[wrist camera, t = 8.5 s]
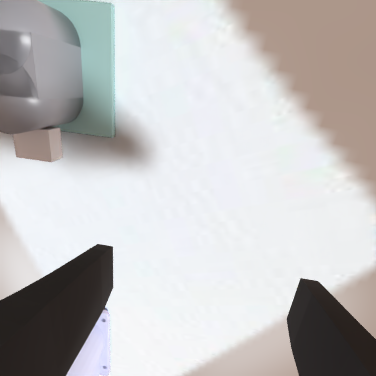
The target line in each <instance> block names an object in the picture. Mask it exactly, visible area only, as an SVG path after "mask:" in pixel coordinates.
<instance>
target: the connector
mask: <svg viewBox="0 0 376 376" xmlns="http://www.w3.org/2000/svg"><path fill="white" fill-rule="evenodd" d="M82 107H83V80H82V60H81V44H80V39H79V35H78V33H77V30H76V28H75V27H74V25H73V23H72V22H71V21H70V20H69V18H68V17H67V16H65V15H64V14H63V13H61V12H60V11H58V10H56V9H54V8H52V7H50V6H48V5H46V4H44V3H42V2H40V1H37V0H0V132H3V133H7V134H13V138H14V144H15V151H16V157H19V158H26V159H34V160H41V161H48V162H53V161H55V160H58V159H60V158H63V154H62V142H61V131H60V128H59V127H52V126H57V125H61V124H66V123H69V122H72V121H73V120H75V119H76V118H77V117H78V115H79V114H80V112H81V110H82Z"/></svg>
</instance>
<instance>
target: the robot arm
mask: <svg viewBox="0 0 376 376" xmlns="http://www.w3.org/2000/svg"><path fill="white" fill-rule="evenodd" d="M112 289H113V247H112V246H106V245H100V244H97V245H95V246H94V247H92V248H90V249H89V250H87V251H86V252H84V253H82V254H81V255H79V256H78V257H76V258H74V259H73V260H71V261H70V262H68V263H66V264H65V265H63V266H61V267H60V268H58V269H56V270H55V271H53V272H52V273H50V274H48V275H46V276H45V277H43V278H41V279H39V280H37V281H36V282H34V283H32V284H30V285H29V286H27V287H25V288H23V289H21V290H20V291H18V292H16V293H14V294H12V295H10V296H8V297H6V298H4V299H2V300H0V376H99V375H103V376H108V375H109V373H110V314H109V312H108V311H107V310H104V307H105V305H106V303H107V301H108V298H109V296H110V293H111V291H112ZM287 324H288V330H289V337H290V342H291V348H292V352H293V355H294V359H295V362H296V366H297V370H298V373H299V376H376V339H375V338H374V337H373V336H372V335H371V334H370V333H369V332H368V331H367V330H366V329H365V328H364V327H363V326H362V325H360V323H359V322H358V321H357V320H356V319H355V318H354V317H353V316H352V315H351V314H350V313H349V312H348V311H347V310H346V309H345V308H344V307H343V306H342V305H341V304H340V303H339V302H338V301H337V300H336V299H335V298H334V297H333V296H332V295H331V294H330V293H329V292H328V291H327V290H326V289H325V288H324V287H323V286H322V285H321V284H320V283H319V282H318V281H314V280H308V279H302V278H301V279H300V282H299V285H298V288H297V291H296V293H295V296H294V299H293V302H292V305H291V308H290V311H289V314H288V317H287Z"/></svg>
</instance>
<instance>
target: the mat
mask: <svg viewBox="0 0 376 376" xmlns="http://www.w3.org/2000/svg"><path fill="white" fill-rule="evenodd" d="M37 1H40V2H42V3H44V4H46V5H48V6H50V7H52V8H54V9H56V10H58V11H60V12H61V13H63V14H64V15H65V16H67V17H68V18H69V20H70V21H71V22H72V23H73V25H74V27H75V28H76V30H77V33H78V35H79V39H80V44H81V60H82V80H83V107H82V110H81V112H80V114H79V115H78V117H77V118H76V119H75V120H73V121H72V122H69V123H66V124H61V125H57V126H52V127H59V128H60V131H65V132H72V133H80V134H87V135H95V136H102V137H110V138H113V137H115V76H114V5H113V4H111V3H104V2H93V1H82V0H37Z"/></svg>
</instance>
